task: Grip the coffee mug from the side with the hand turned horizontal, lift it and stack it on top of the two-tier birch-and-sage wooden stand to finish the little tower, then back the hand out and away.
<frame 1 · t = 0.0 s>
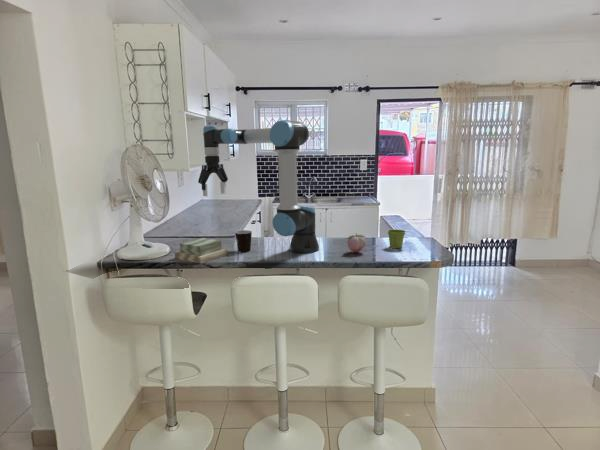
hand: (214, 194, 214), 28 cm above the counter, tool pointing down, fingers open, 13 cm apart
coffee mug: (243, 251, 203), on the counter
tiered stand: (201, 256, 194), on the counter
plant pot: (395, 247, 205), on the counter
decorative fruit: (355, 252, 196), on the counter
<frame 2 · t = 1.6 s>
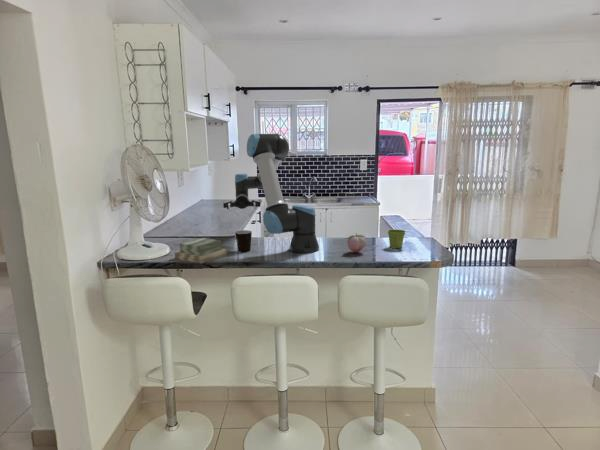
hand: (241, 206, 208), 22 cm above the counter, tool horizontal, fingers open, 13 cm apart
nothing on the counter moved.
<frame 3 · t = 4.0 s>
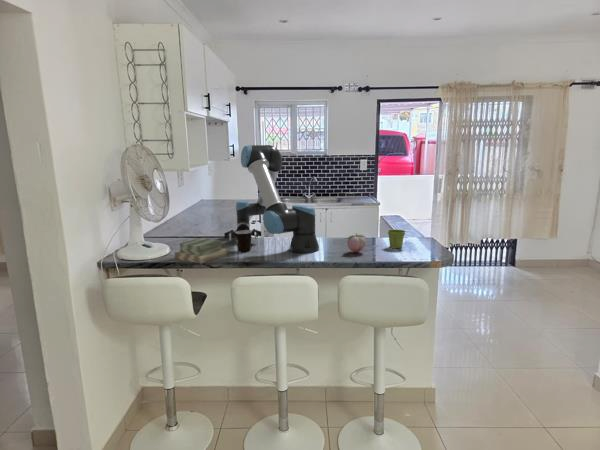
hand: (242, 237, 208), 6 cm above the counter, tool horizontal, fingers open, 13 cm apart
nothing on the counter moved.
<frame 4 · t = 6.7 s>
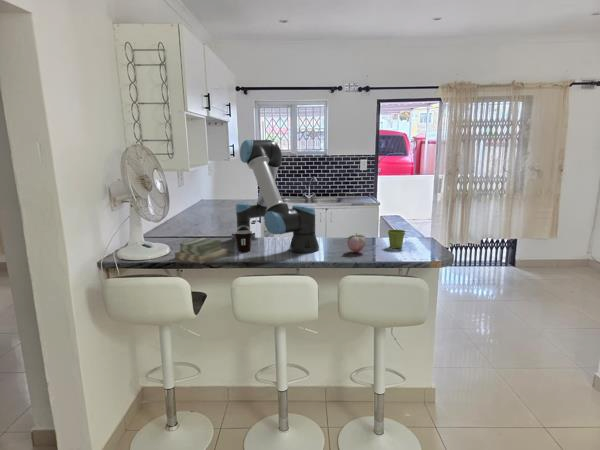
hand: (243, 242, 196), 6 cm above the counter, tool horizontal, fingers closed on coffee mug
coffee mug: (242, 251, 202), on the counter, touching gripper
everything else where it was.
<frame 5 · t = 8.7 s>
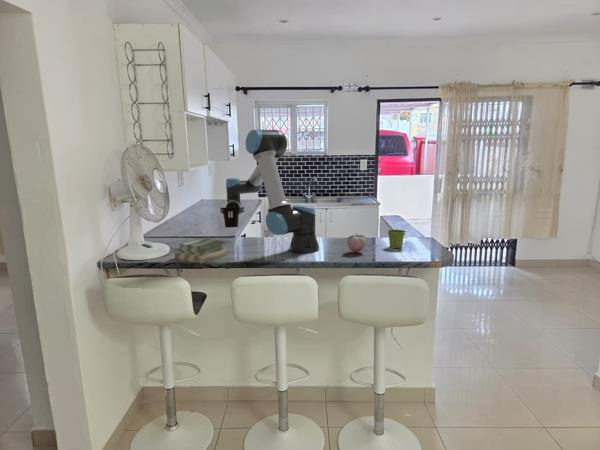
hand: (230, 214, 193), 20 cm above the counter, tool horizontal, fingers closed on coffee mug
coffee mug: (230, 227, 198), point 13 cm above the counter, touching gripper, hand
everything else where it was.
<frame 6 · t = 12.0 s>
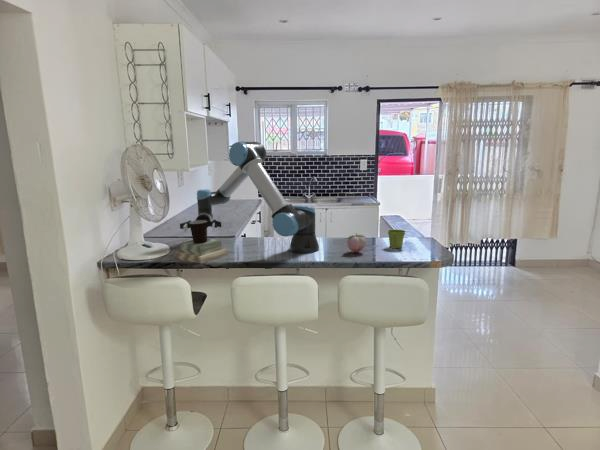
hand: (198, 228, 188), 15 cm above the counter, tool horizontal, fingers open, 13 cm apart
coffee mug: (198, 243, 191), point 7 cm above the counter, touching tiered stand
everything else where it was.
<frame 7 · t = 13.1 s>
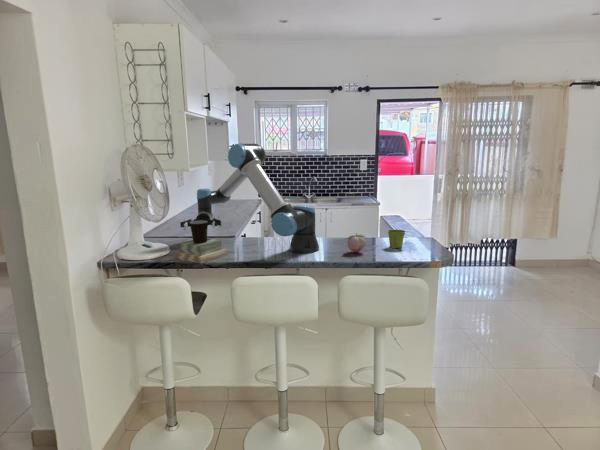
hand: (199, 226, 191), 15 cm above the counter, tool horizontal, fingers open, 13 cm apart
nothing on the counter moved.
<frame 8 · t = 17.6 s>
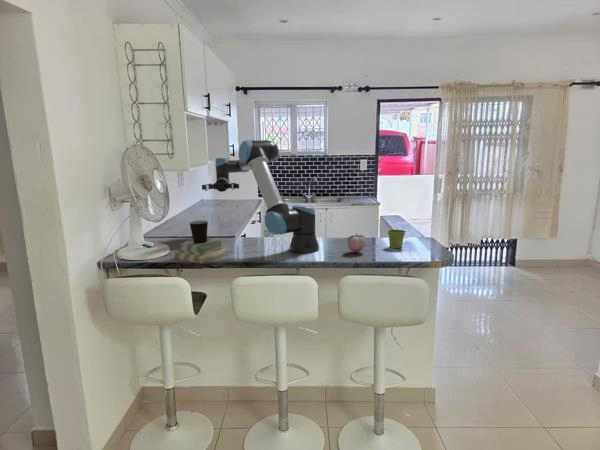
hand: (219, 188, 209), 32 cm above the counter, tool horizontal, fingers open, 13 cm apart
nothing on the counter moved.
at the end: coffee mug inside the target area on the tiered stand (1.7 cm from its centre), point 7.3 cm above the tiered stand's base; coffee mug tilted 0°; the gripper is holding nothing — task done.
